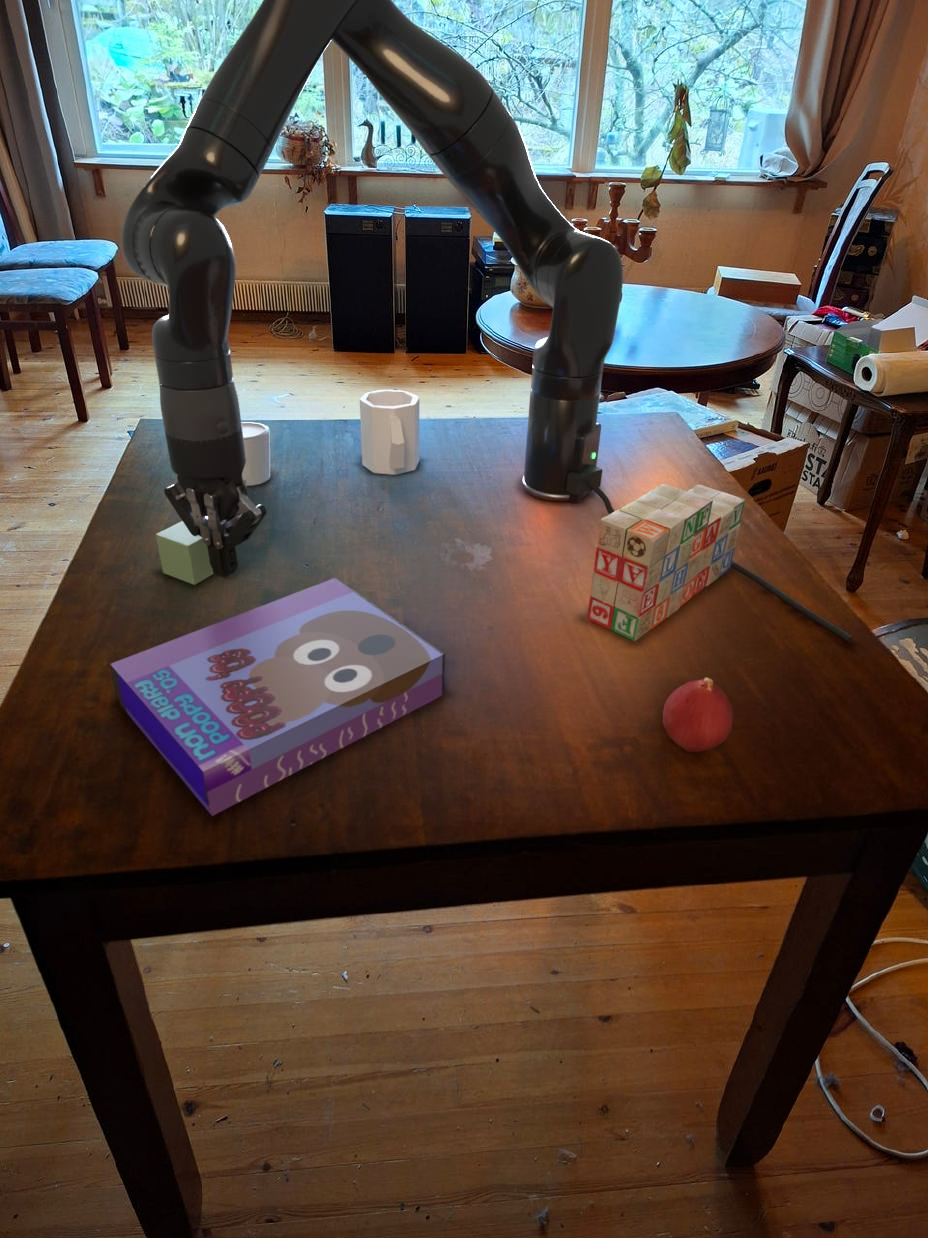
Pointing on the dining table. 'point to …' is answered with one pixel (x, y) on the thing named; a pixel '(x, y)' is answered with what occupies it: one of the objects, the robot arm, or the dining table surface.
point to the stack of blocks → (661, 555)
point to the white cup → (256, 453)
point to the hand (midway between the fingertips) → (224, 572)
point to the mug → (389, 431)
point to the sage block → (183, 554)
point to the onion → (698, 716)
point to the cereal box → (275, 689)
